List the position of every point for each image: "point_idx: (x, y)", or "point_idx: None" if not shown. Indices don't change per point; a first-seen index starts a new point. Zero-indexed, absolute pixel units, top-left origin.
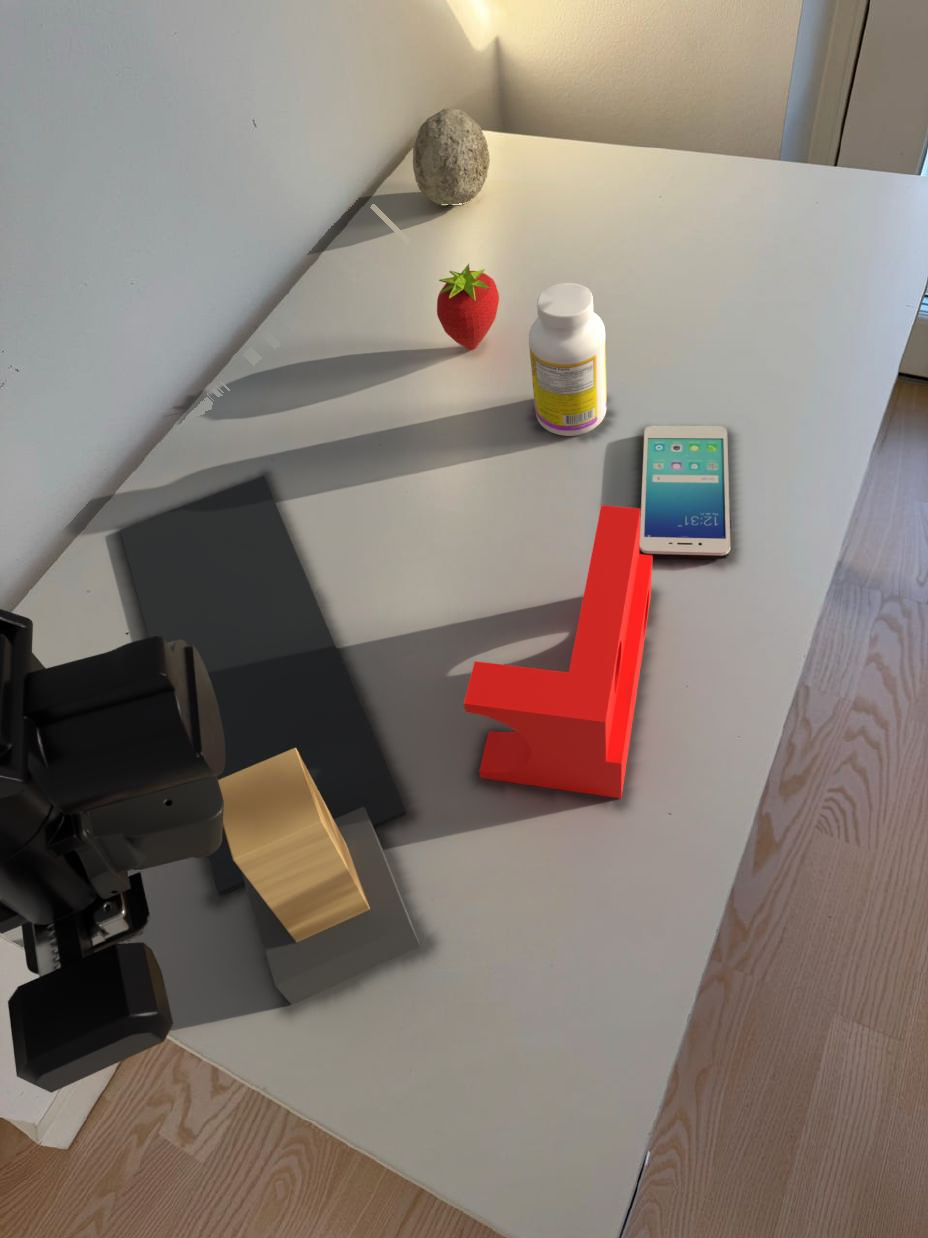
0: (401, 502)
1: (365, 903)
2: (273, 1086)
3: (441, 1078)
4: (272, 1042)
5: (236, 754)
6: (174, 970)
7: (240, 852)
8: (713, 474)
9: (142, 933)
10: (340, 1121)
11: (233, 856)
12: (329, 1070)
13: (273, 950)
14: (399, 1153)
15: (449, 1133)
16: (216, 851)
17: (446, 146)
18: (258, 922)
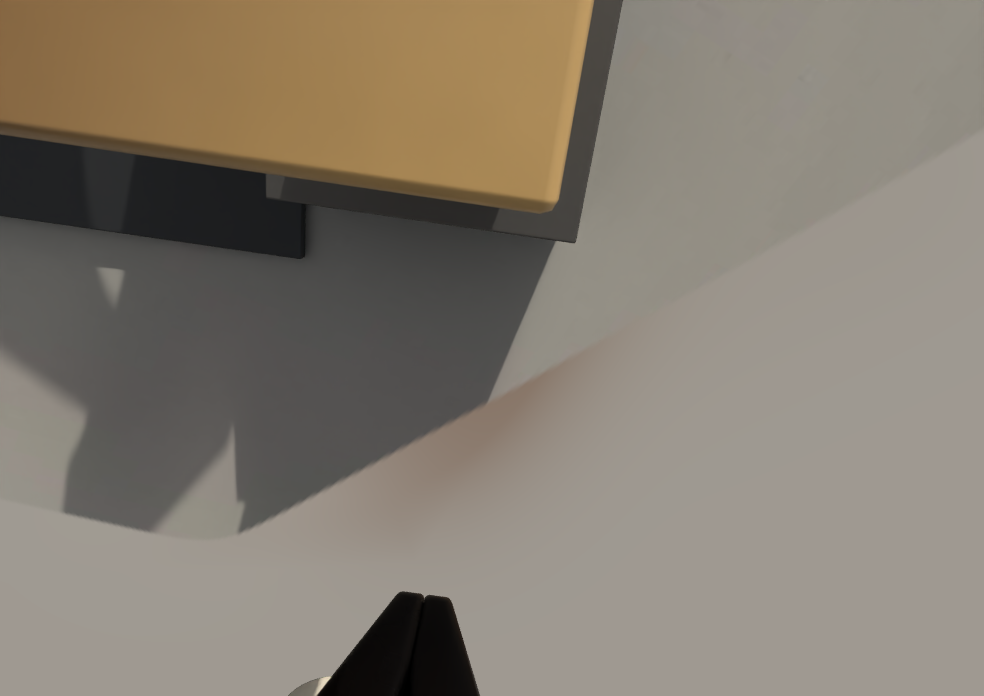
0: None
1: None
2: (659, 306)
3: (856, 30)
4: (597, 280)
5: None
6: (396, 371)
7: (514, 92)
8: None
9: (450, 601)
10: (779, 234)
11: (514, 191)
12: (699, 214)
13: (503, 213)
14: (892, 168)
15: (938, 68)
16: (216, 229)
17: None
18: (427, 216)
